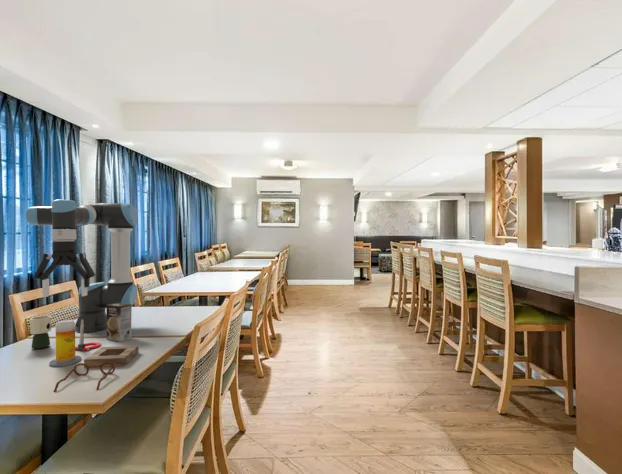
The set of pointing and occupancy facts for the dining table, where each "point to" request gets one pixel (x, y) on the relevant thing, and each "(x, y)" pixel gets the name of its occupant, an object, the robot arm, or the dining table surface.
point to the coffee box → (119, 321)
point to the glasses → (88, 371)
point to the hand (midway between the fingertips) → (65, 296)
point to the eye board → (112, 356)
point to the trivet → (57, 364)
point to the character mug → (40, 331)
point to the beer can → (65, 341)
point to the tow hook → (81, 341)
